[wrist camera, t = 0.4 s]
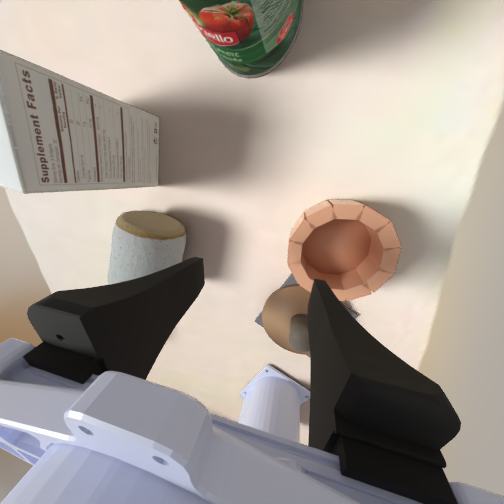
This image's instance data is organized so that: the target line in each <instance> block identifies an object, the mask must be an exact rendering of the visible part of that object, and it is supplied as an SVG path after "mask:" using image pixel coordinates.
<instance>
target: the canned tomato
mask: <svg viewBox="0 0 504 504" xmlns="http://www.w3.org/2000/svg"><path fill="white" fill-rule="evenodd" d="M179 2H180V3H181V4H182V6H183V8H184V9H185V10H186V12H187V13H188V14H189V16H190V18H191V19H192V20H193V22H194V23H195V25H196V26H197V28H198V29H199V30H200V32H201V34H202V35H203V36H204V37H205V39H206V41H207V42H208V43H209V45H210V46H211V48H212V49H213V50H214V52H215V53H216V54H217V56H218V58H219V60H220V61H221V62H222V64H223V65H224V66H225V67H226V68H227V69H228V70H229V71H231V72H232V73H234V74H236V75H238V76H240V77H245V78H256V77H259V76H262V75H265V74H267V73H268V72H270V71H272V70H273V69H274V68H275V67H277V66H278V65H279V64H280V63H281V62H282V61H283V59H284V58H285V57H286V56H287V54H288V53H289V51H290V49H291V47H292V46H293V44H294V42H295V39H296V36H297V34H298V31H299V27H300V23H301V19H302V10H303V0H179Z"/></svg>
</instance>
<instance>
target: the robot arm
mask: <svg viewBox="0 0 504 504" xmlns="http://www.w3.org/2000/svg"><path fill="white" fill-rule="evenodd" d="M204 284H205V282H204V266H203V259H202V258H197V257H193V258H190V259H188V260H185V261H183V262H180V263H178V264H175V265H173V266H170V267H168V268H165V269H163V270H160V271H157V272H155V273H152V274H149V275H146V276H143V277H139V278H136V279H132V280H128V281H124V282H119V283H115V284H110V285H105V286H99V287H92V288H85V289H75V290H66V291H57V292H55V293H53V294H51V295H49V296H47V297H46V298H44V299H42V300H40V301H39V302H37V303H35V304H33V305H31V306H30V307H29V308H28V312H27V315H28V318H29V320H30V322H31V324H32V326H33V327H34V329H35V330H36V332H37V333H38V335H39V336H40V338H41V339H42V341H43V343H41V344H40V345H38V346H37V347H34V346H33V345H32V344H30V343H27V342H24V341H21V340H18V339H15V338H9V339H7V340H6V341H5V342H3V343H1V344H0V448H2V449H4V450H5V451H8V452H9V453H11V454H13V455H15V456H17V457H19V458H21V459H22V460H24V461H26V462H28V463H30V464H32V465H33V467H32V468H31V469H30V470H29V471H28V472H27V474H26V475H25V476H24V477H23V478H22V479H21V481H20V482H19V483H18V484H17V485H16V486H15V487H14V488H13V490H12V491H11V492H10V493H9V494H8V495H7V497H6V498H5V499H4V500H3V501H2V502H1V503H0V504H504V496H501V495H498V494H495V493H492V492H489V491H486V490H483V489H480V488H477V487H473V486H470V485H467V484H464V483H459V482H451V483H449V482H448V480H447V478H446V476H445V473H444V471H443V469H442V468H445V467H446V462H445V459H444V457H443V455H442V453H441V451H440V449H441V448H442V447H443V446H445V445H446V444H447V443H448V442H449V441H451V440H452V439H453V438H454V437H455V436H456V435H457V433H458V432H459V431H460V426H461V422H460V419H459V417H458V415H457V414H456V412H455V410H454V408H453V407H452V405H451V403H450V402H449V400H448V398H447V397H446V395H445V393H444V392H443V390H442V389H441V387H440V386H439V385H438V384H436V383H435V382H433V381H432V380H430V379H429V378H427V377H426V376H424V375H423V374H421V373H420V372H418V371H417V370H415V369H414V368H412V367H411V366H410V365H408V364H407V363H405V362H404V361H403V360H401V359H400V358H399V357H397V356H396V355H395V354H393V353H392V352H391V351H390V350H388V349H387V348H386V347H384V346H383V345H382V344H381V343H380V342H379V341H377V340H376V339H375V338H374V337H373V336H372V335H371V334H369V333H368V332H367V331H366V330H365V329H364V328H363V327H362V326H361V325H360V324H359V323H358V322H357V321H356V320H355V319H354V318H353V317H352V315H351V314H350V313H349V312H348V311H347V310H346V308H345V307H344V306H343V305H342V303H341V302H340V301H339V300H338V298H337V297H336V295H335V294H334V293H333V291H332V290H331V288H330V287H329V285H328V284H327V282H326V281H325V280H320V279H315V278H314V282H313V286H312V290H311V294H310V298H309V302H308V311H307V323H308V335H309V345H310V358H311V386H310V391H309V390H308V389H306V388H305V387H303V386H302V385H300V384H298V383H297V382H295V381H294V380H292V379H291V378H289V377H288V376H286V375H285V374H283V373H282V372H280V371H278V370H277V369H275V368H274V367H272V366H271V365H267V366H266V367H265V368H264V369H263V370H262V371H261V372H260V373H259V374H258V375H257V376H256V377H255V378H254V379H253V380H252V381H251V382H250V383H249V384H248V385H247V386H246V387H245V388H244V389H243V390H242V391H241V392H240V396H241V397H242V398H244V402H243V406H242V409H241V413H240V417H239V421H238V422H235V421H232V420H229V419H226V418H223V417H220V416H217V415H214V414H211V413H209V412H208V410H207V408H206V407H205V406H204V405H203V404H202V403H201V402H199V401H198V400H197V399H196V398H194V397H192V396H190V395H188V394H185V393H183V392H181V391H178V390H175V389H172V388H169V387H165V386H162V385H159V384H156V383H153V382H150V381H147V380H146V378H147V376H148V374H149V372H150V370H151V368H152V366H153V364H154V362H155V360H156V358H157V357H158V355H159V353H160V351H161V350H162V348H163V346H164V344H165V342H166V341H167V339H168V337H169V336H170V334H171V333H172V331H173V329H174V328H175V326H176V325H177V323H178V322H179V321H180V319H181V318H182V317H183V315H184V314H185V313H186V311H187V310H188V309H189V307H190V306H191V305H192V303H193V302H194V301H195V299H196V298H197V297H198V295H199V293H200V292H201V290H202V288H203V286H204ZM309 399H310V422H309V445H308V446H307V445H304V444H301V443H300V406H301V405H302V404H303V403H305V402H306V401H307V400H309Z"/></svg>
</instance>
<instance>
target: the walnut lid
mask: <svg viewBox="0 0 504 504" xmlns="http://www.w3.org/2000/svg"><path fill="white" fill-rule="evenodd" d="M310 294H311V292H309V291H307V290H306V289H304V288H303V287H301V286H300V285H299V284H294V285H288V286H285V287H282V288H280V289H278V290H276V291H275V292H274V293H272V294H271V295H270V297H269V298H268V299H267V301H266V303H265V305H264V309H263V312H262V322H263V326H264V329H265V331H266V332H267V334H268V335H269V337H270V338H271V339H272V340H273V341H274V342H275V343H276V344H278V345H279V346H281V347H282V348H284V349H286V350H288V351H291V352H294V353H298V354H306V355H310V345H309V335H308V323H307V311H308V302H309V298H310Z"/></svg>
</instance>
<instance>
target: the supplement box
mask: <svg viewBox="0 0 504 504" xmlns="http://www.w3.org/2000/svg"><path fill="white" fill-rule="evenodd" d="M159 126H160V125H159V117H157V116H155V115H152V114H150V113H147V112H145V111H143V110H140V109H138V108H135V107H133V106H131V105H128V104H126V103H124V102H121V101H119V100H117V99H114V98H112V97H110V96H108V95H105V94H103V93H101V92H98V91H96V90H94V89H91V88H89V87H87V86H84V85H82V84H80V83H78V82H75V81H73V80H71V79H68V78H66V77H64V76H62V75H59V74H57V73H55V72H52V71H50V70H48V69H45V68H43V67H41V66H38V65H36V64H34V63H31V62H29V61H26V60H24V59H22V58H19V57H17V56H14V55H12V54H9V53H7V52H4V51H2V50H0V186H1V187H4V188H7V189H11V190H14V191H17V192H20V193H24V194H27V193H43V192H63V191H83V190H104V189H121V188H139V187H155V186H158V177H159Z"/></svg>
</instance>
